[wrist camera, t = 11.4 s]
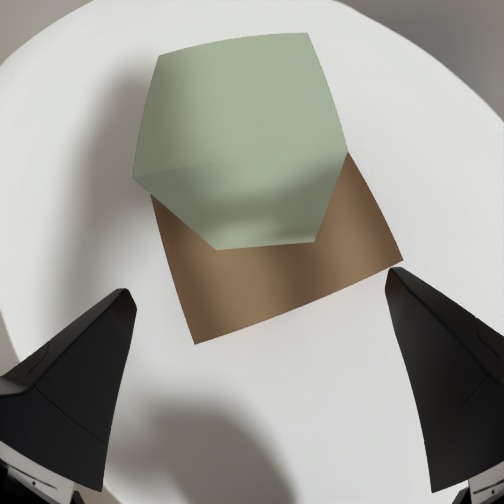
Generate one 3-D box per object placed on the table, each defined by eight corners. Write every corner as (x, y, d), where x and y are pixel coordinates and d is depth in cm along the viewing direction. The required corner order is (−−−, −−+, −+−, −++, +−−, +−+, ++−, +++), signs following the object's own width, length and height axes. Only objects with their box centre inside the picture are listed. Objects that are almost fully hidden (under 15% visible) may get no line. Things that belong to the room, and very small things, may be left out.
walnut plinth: (208, 339, 19) (194, 344, 16) (159, 177, 22) (143, 160, 19) (387, 267, 18) (403, 260, 15) (309, 119, 21) (310, 96, 18)
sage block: (314, 241, 16) (347, 150, 6) (216, 250, 17) (132, 177, 7) (301, 156, 17) (307, 32, 8) (214, 165, 18) (158, 55, 8)
